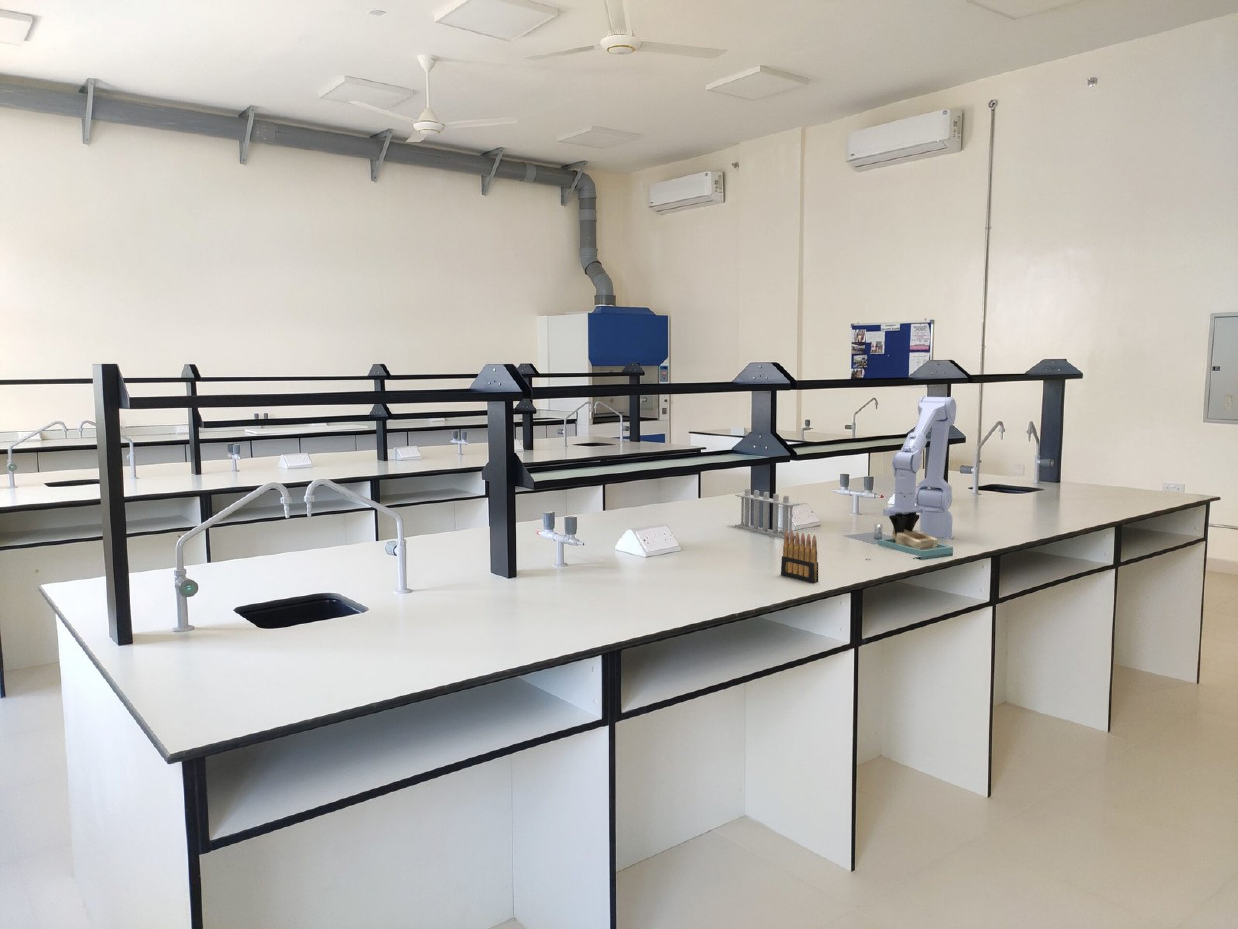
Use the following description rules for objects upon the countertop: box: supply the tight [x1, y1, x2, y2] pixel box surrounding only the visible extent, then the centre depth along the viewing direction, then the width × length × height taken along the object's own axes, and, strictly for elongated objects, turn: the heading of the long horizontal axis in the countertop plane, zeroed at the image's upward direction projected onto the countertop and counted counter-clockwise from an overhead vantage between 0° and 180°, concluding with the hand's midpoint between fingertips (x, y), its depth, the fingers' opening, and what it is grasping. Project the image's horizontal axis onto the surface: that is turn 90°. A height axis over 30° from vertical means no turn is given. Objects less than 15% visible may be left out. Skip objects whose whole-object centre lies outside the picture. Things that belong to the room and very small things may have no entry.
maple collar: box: [891, 527, 939, 550], centre depth 246 cm, size 12×8×4 cm, turn 26°
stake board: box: [843, 523, 892, 545], centre depth 259 cm, size 14×13×5 cm
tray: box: [877, 538, 954, 561], centre depth 244 cm, size 12×17×2 cm
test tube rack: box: [734, 488, 800, 541], centre depth 272 cm, size 25×4×13 cm, turn 34°
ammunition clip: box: [780, 529, 819, 584], centre depth 214 cm, size 11×2×12 cm, turn 39°
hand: (903, 538), depth 248 cm, fingers closed on maple collar, 2 cm apart
